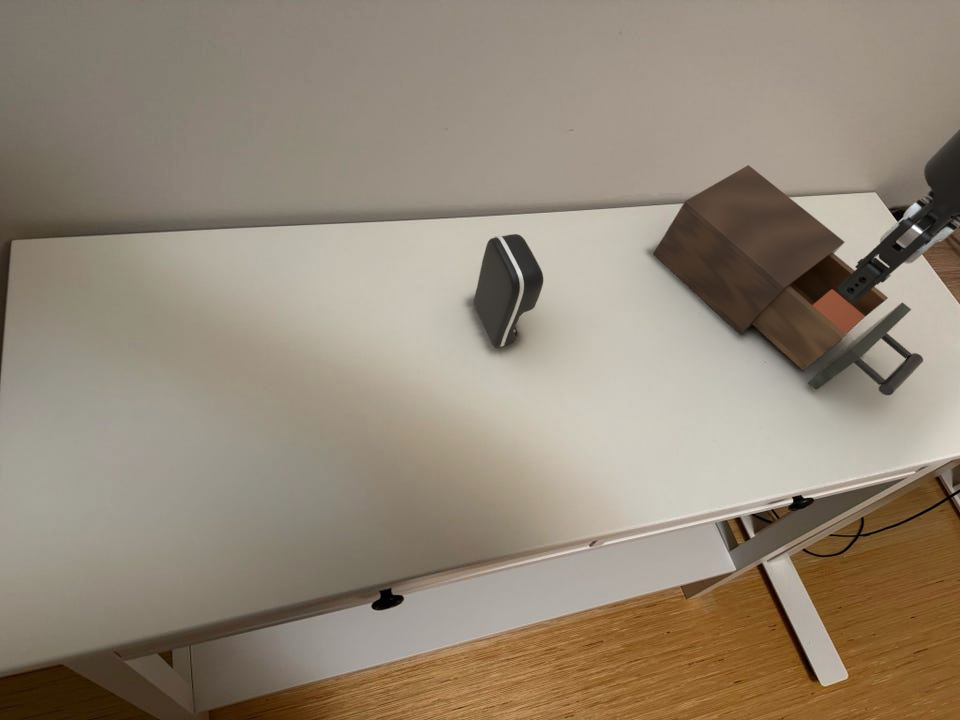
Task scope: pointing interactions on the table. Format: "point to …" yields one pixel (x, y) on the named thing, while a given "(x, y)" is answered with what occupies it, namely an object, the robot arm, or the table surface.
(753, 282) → the cabinet
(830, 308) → the block
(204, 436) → the table surface
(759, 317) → the drawer
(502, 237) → the battery charger
